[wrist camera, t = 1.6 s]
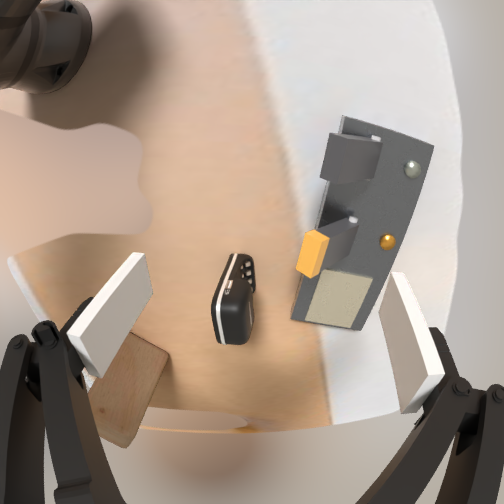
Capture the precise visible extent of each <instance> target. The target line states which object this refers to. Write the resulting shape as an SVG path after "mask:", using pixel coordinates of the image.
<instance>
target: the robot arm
mask: <svg viewBox="0 0 504 504" xmlns="http://www.w3.org/2000/svg"><path fill="white" fill-rule="evenodd" d="M40 2H41V0H0V89H5V88H13V89H17V90H21V91H25V92H28V93H32V94H43V93H49V92H53V91H56V90H58V89H60V88H61V87H63V86H64V85H65V84H66V83H68V82H69V81H70V80H71V78H72V77H73V76H74V75H75V73H76V72H77V71H78V69H79V67H80V66H81V64H82V62H83V60H84V58H85V55H86V53H87V50H88V47H89V43H90V38H91V18H90V15H89V12H88V10H87V9H86V7H85V6H84V5H83V4H82V3H80V2H78V1H75V0H50V1H46V2H42V3H40ZM152 294H153V290H152V286H151V281H150V277H149V272H148V267H147V262H146V258H145V253H135V252H133V253H132V254H131V255H130V256H129V257H128V259H127V260H126V261H125V262H124V263H123V264H122V265H121V267H120V268H119V269H118V270H117V271H116V272H115V273H114V275H113V276H112V277H111V278H110V279H109V281H108V282H107V283H106V284H105V285H104V286H103V288H102V289H101V290H100V291H99V293H98V294H97V295H96V296H95V297H90V298H88V299H87V300H85V301H84V302H83V303H82V304H81V305H80V306H79V308H78V309H77V311H75V313H74V314H73V316H71V317H70V319H69V320H68V321H67V323H66V324H65V325H64V326H63V328H62V329H61V330H60V332H59V331H58V329H57V327H56V325H55V323H54V322H52V321H49V320H46V321H42V322H40V323H38V324H37V325H36V326H35V327H34V328H33V330H32V333H31V334H32V336H33V338H34V340H35V342H30V341H29V339H28V337H27V336H26V335H24V334H23V335H22V334H20V335H17V336H15V337H13V338H12V339H11V340H10V342H9V344H8V346H7V349H6V352H5V355H4V359H3V362H2V365H1V369H0V504H45V498H44V438H45V437H44V436H45V427H46V433H47V439H48V444H49V449H50V454H51V459H52V463H53V467H54V471H55V475H56V479H57V483H58V488H57V489H56V490H54V499H55V502H56V504H126V503H125V501H124V500H123V498H122V496H121V494H120V491H119V489H118V487H117V484H116V482H115V479H114V477H113V474H112V472H111V469H110V466H109V464H108V461H107V458H106V456H105V453H104V449H103V447H102V444H101V440H100V437H99V434H98V431H97V427H96V424H95V420H94V417H93V413H92V409H91V405H90V401H89V397H88V393H87V389H86V384H85V380H84V376H83V374H82V370H83V368H84V367H85V368H86V370H87V371H88V373H89V374H90V375H93V376H96V377H99V378H103V376H104V374H105V372H106V371H107V369H108V367H109V365H110V364H111V362H112V360H113V358H114V357H115V355H116V353H117V352H118V350H119V348H120V346H121V345H122V343H123V341H124V340H125V338H126V336H127V335H128V333H129V331H130V330H131V328H132V327H133V325H134V323H135V322H136V320H137V318H138V317H139V315H140V314H141V312H142V310H143V309H144V307H145V306H146V304H147V302H148V301H149V299H150V298H151V296H152ZM379 316H380V320H381V324H382V328H383V331H384V335H385V339H386V343H387V347H388V352H389V356H390V360H391V365H392V369H393V374H394V379H395V384H396V389H397V394H398V399H399V405H400V410H401V414H405V413H416V412H417V411H418V410H419V409H420V408H421V406H422V405H423V410H424V413H423V414H422V416H421V417H420V418H419V419H418V420H417V422H416V423H415V427H414V429H413V430H412V431H411V433H410V435H409V436H408V438H407V439H406V440H405V442H404V443H403V445H402V446H401V448H400V449H399V450H398V452H397V453H396V455H395V456H394V457H393V459H392V460H391V461H390V463H389V464H388V465H387V467H386V468H385V469H384V471H383V472H382V473H381V475H380V476H379V477H378V478H377V480H376V481H375V482H374V483H373V484H372V485H371V487H370V488H369V489H368V490H367V491H366V492H365V494H364V495H363V496H362V497H361V498H360V499H359V500H358V501H357V503H356V504H415V502H416V501H417V499H418V498H419V496H420V495H421V494H422V492H423V491H424V489H425V487H426V486H427V484H428V483H429V481H430V479H431V478H432V476H433V475H434V473H435V471H436V470H437V468H438V466H439V464H440V462H441V461H442V459H443V457H444V455H445V454H446V452H447V450H448V448H449V446H450V444H451V442H452V440H453V438H454V436H455V438H454V443H453V447H452V451H451V455H450V459H449V462H448V466H447V469H446V473H445V476H444V479H443V482H442V485H441V489H440V491H439V494H438V497H437V500H436V502H435V504H496V500H497V496H498V491H499V487H500V482H501V477H502V471H503V466H504V387H503V386H501V385H499V384H494V385H491V386H490V387H489V388H488V390H487V391H483V390H478V389H473V388H472V386H471V385H470V383H469V382H468V381H467V380H466V379H465V378H462V377H460V376H459V374H458V371H457V368H456V366H455V363H454V360H453V358H452V355H451V353H450V352H449V351H450V350H449V348H448V345H447V343H446V340H445V338H444V335H443V334H442V333H441V332H440V331H439V330H438V328H437V327H428V326H427V323H426V321H425V319H424V316H423V314H422V311H421V309H420V307H419V304H418V302H417V300H416V298H415V295H414V293H413V291H412V289H411V287H410V284H409V282H408V280H407V278H406V276H405V274H404V273H401V272H391V274H390V277H389V281H388V284H387V287H386V291H385V294H384V297H383V300H382V303H381V306H380V310H379ZM26 377H27V378H26Z"/></svg>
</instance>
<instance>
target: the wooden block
mask: <svg viewBox="0 0 504 504" xmlns="http://www.w3.org/2000/svg"><path fill="white" fill-rule="evenodd" d="M167 360H168V353H167V352H165V351H164V350H162V349H160V348H158V347H156V346H154V345H152V344H150V343H148V342H147V341H145V340H143V339H141V338H139V337H137V336H136V335H134V334H132V333H130V332H129V333H128V335H127V336H126V338H125V340H124V341H123V343H122V345H121V346H120V348H119V350H118V352H117V353H116V355H115V357H114V358H113V360H112V362H111V364H110V365H109V367H108V369H107V371H106V372H105V374H104V376H103V378H99V377H97V378H96V380H95V381H94V383H93V385H92V387H91V388H90V390H89V392H88V397H89V401H90V405H91V409H92V413H93V417H94V420H95V424H96V427H97V431H98V434H99V436H100V437H102V438H104V439H106V440H107V441H109V442H111V443H113V444H115V445H117V446H119V447H121V448H127V447H128V446H129V445H130V444H131V442H132V441H133V439H134V438H135V436H136V434H137V431H138V429H139V426H140V423H141V421H142V419H143V417H144V414H145V411H146V409H147V407H148V405H149V402H150V400H151V397H152V395H153V393H154V390H155V388H156V386H157V383H158V381H159V379H160V376H161V374H162V372H163V370H164V367H165V365H166V363H167Z"/></svg>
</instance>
